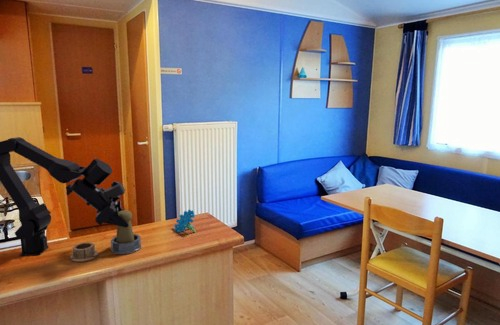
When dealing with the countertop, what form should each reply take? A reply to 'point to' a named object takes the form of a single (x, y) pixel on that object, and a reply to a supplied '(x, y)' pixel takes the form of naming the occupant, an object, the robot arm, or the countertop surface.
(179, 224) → the gear
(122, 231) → the cork
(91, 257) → the small collar
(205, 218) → the countertop surface
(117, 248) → the fitting collar
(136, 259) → the countertop surface
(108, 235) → the countertop surface
